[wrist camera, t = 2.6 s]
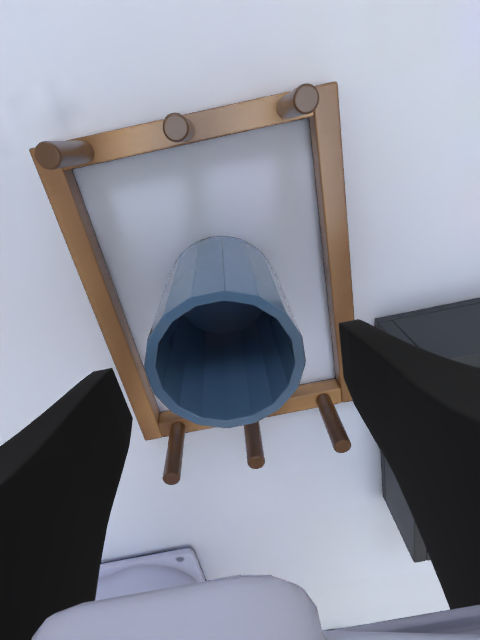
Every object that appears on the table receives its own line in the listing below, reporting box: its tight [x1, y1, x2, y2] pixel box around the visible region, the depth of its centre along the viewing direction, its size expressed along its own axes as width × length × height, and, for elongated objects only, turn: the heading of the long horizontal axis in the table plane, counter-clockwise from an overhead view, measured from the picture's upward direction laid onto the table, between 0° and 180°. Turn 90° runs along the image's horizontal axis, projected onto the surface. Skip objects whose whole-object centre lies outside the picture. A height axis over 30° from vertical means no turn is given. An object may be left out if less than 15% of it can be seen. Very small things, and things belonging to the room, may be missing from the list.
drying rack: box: [29, 82, 354, 485], centre depth 17 cm, size 12×15×4 cm
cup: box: [144, 236, 306, 428], centre depth 15 cm, size 5×5×7 cm
